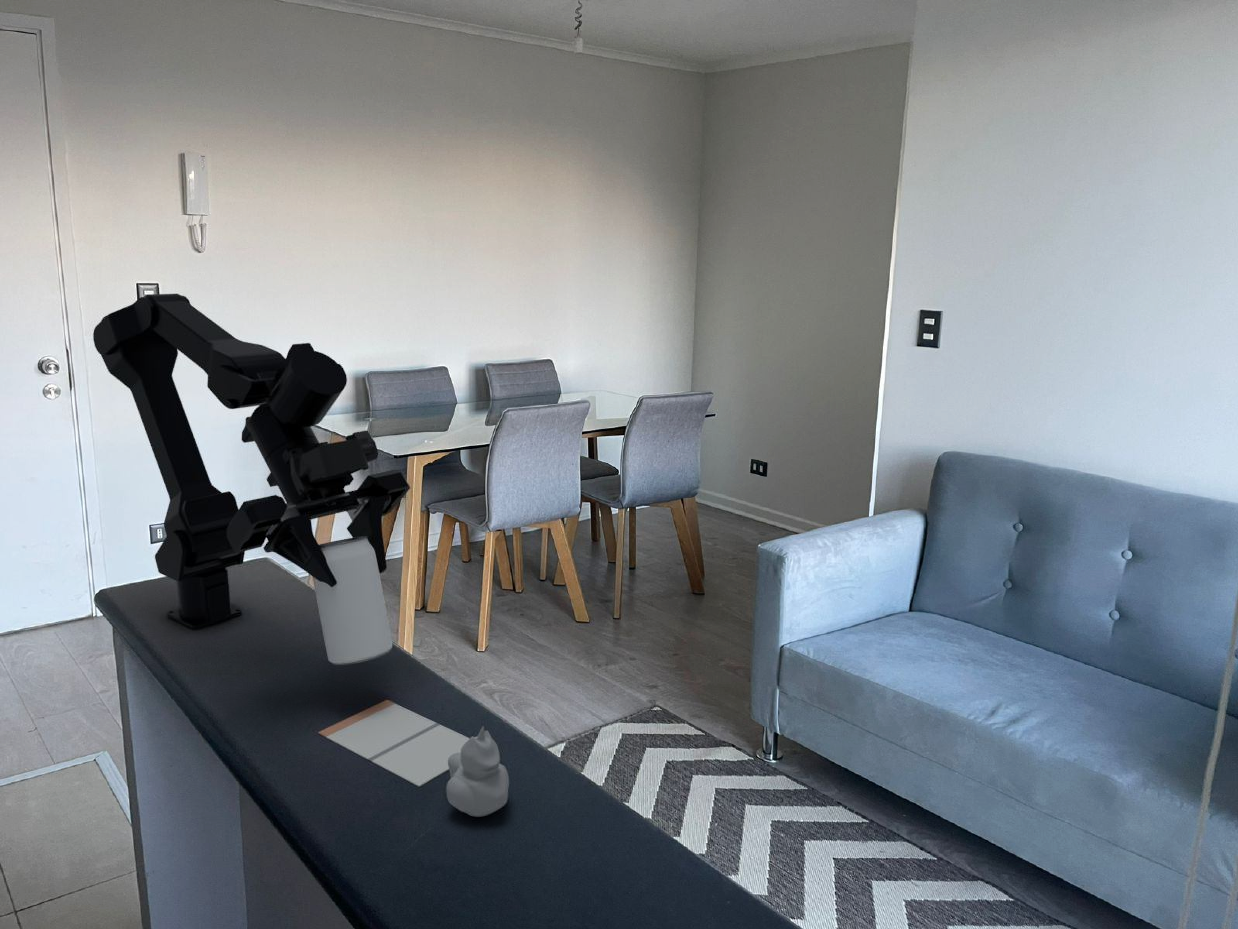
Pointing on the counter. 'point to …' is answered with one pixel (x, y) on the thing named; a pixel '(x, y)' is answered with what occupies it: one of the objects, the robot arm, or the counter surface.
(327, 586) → the can
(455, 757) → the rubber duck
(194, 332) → the robot arm
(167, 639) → the counter surface
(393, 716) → the distance mat
